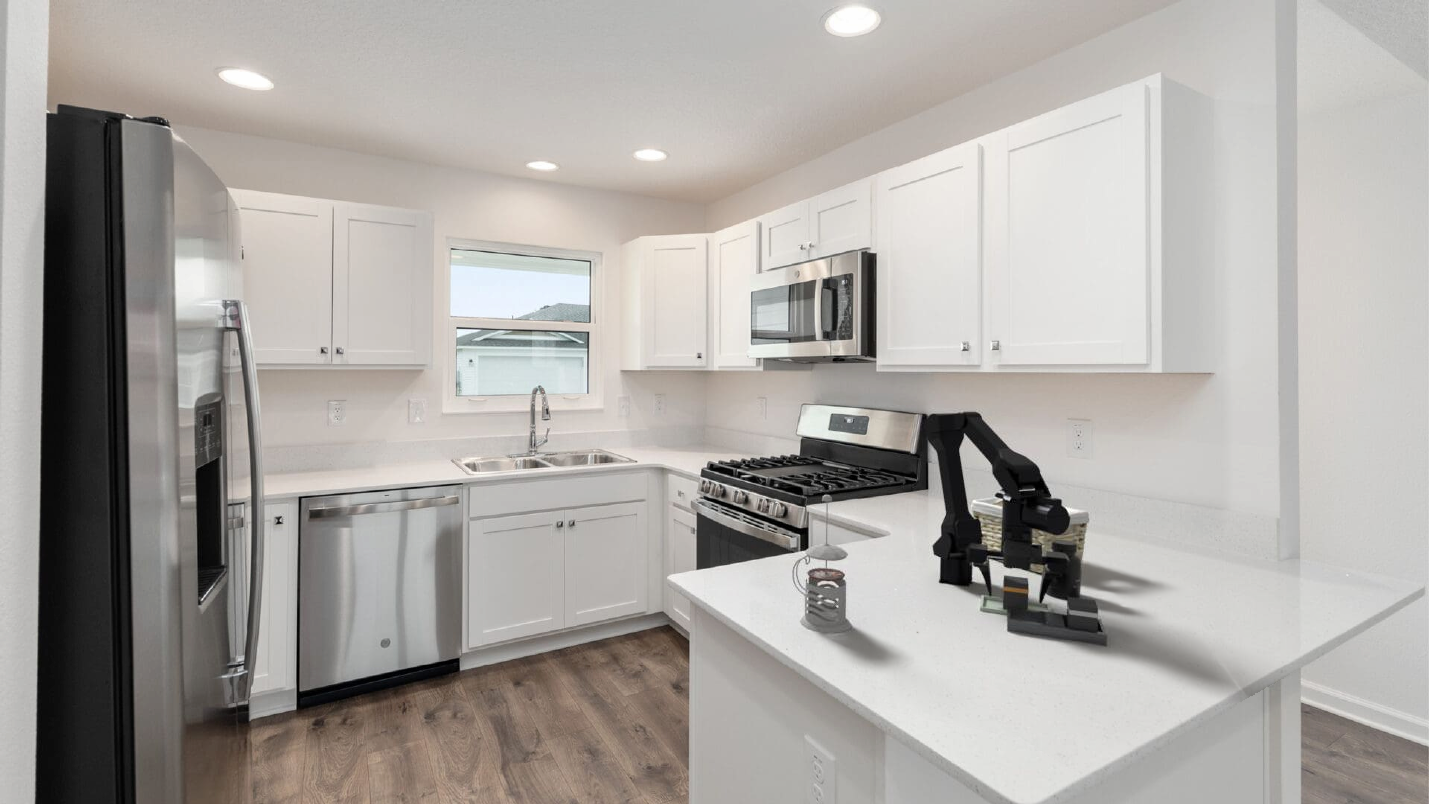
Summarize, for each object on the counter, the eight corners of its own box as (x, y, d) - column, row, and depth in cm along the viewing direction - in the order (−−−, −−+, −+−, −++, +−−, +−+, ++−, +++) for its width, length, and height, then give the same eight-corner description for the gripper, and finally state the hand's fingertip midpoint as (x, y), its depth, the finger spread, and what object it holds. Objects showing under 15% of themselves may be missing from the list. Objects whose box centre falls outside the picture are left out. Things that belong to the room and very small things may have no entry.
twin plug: (1068, 636, 119) (1069, 604, 119) (1066, 627, 123) (1067, 596, 123) (1097, 641, 117) (1098, 608, 117) (1094, 631, 122) (1095, 600, 121)
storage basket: (966, 552, 176) (968, 498, 175) (1009, 546, 183) (1011, 494, 182) (1045, 578, 154) (1047, 517, 154) (1090, 570, 161) (1092, 511, 161)
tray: (979, 613, 132) (980, 607, 132) (981, 600, 139) (981, 594, 139) (1052, 623, 127) (1052, 617, 127) (1049, 609, 134) (1049, 604, 134)
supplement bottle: (1085, 603, 138) (1087, 547, 137) (1050, 600, 139) (1051, 545, 139) (1074, 592, 145) (1075, 539, 144) (1040, 590, 146) (1042, 537, 145)
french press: (840, 637, 120) (842, 501, 118) (782, 623, 126) (784, 495, 125) (858, 619, 128) (860, 493, 127) (803, 608, 134) (805, 487, 133)
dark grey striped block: (1002, 611, 132) (1003, 581, 132) (1002, 603, 136) (1003, 575, 136) (1027, 614, 130) (1028, 584, 130) (1027, 607, 134) (1028, 578, 134)
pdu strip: (1007, 633, 122) (1007, 620, 122) (1006, 618, 129) (1007, 606, 129) (1106, 648, 115) (1106, 635, 115) (1100, 632, 123) (1100, 619, 122)
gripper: (965, 527, 129) (963, 605, 129) (1073, 537, 121) (1070, 620, 122) (968, 515, 139) (966, 588, 140) (1068, 524, 131) (1065, 601, 132)
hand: (1015, 599), depth 133 cm, fingers open, 9 cm apart
